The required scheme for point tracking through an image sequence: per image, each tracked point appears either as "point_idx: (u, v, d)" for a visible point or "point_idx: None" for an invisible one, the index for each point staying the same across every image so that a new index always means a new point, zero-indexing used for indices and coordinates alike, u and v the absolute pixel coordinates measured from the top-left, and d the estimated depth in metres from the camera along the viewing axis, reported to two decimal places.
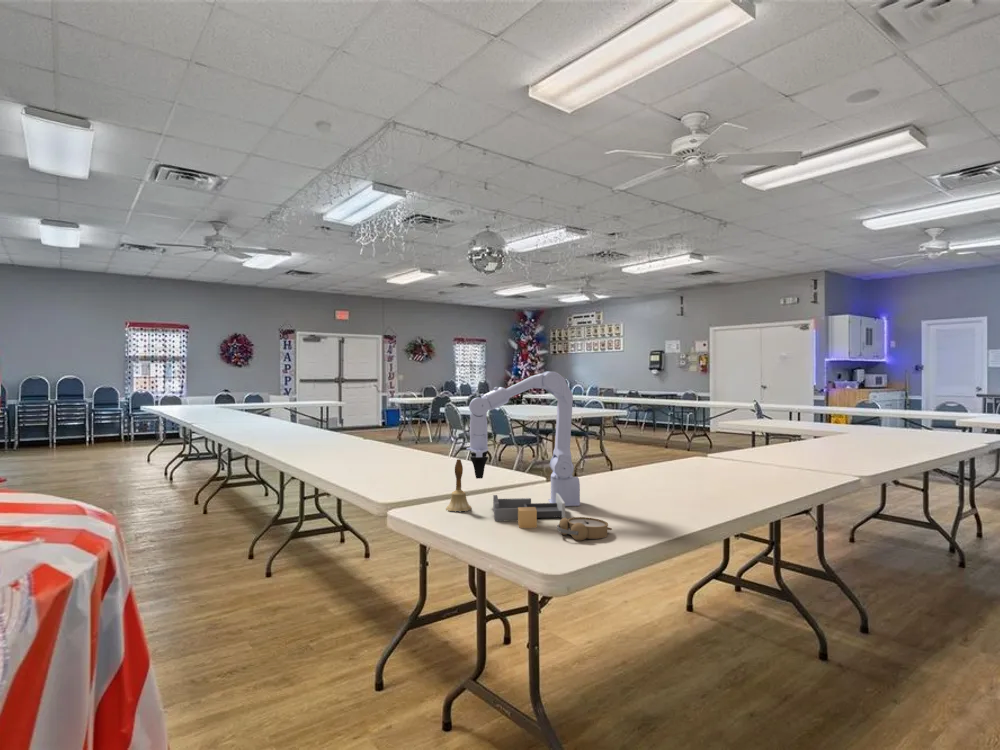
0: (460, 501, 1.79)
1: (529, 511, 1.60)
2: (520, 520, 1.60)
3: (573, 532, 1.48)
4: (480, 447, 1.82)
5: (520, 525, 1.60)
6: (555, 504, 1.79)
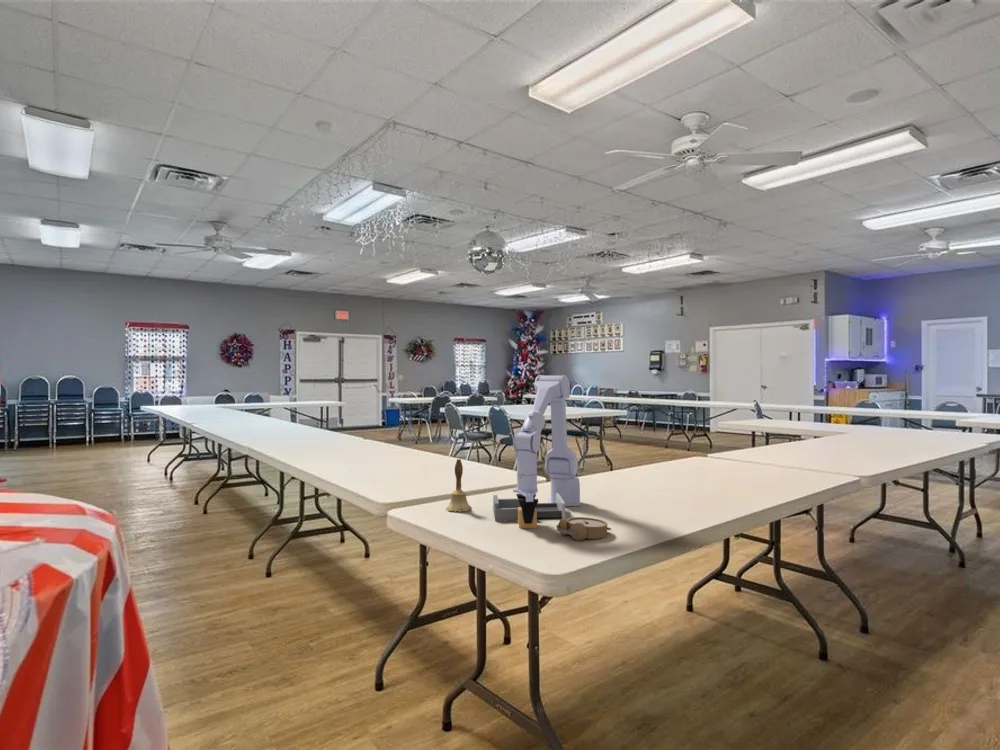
0: (460, 501, 1.79)
1: None
2: (520, 520, 1.60)
3: (572, 532, 1.48)
4: (529, 489, 1.59)
5: (520, 525, 1.60)
6: (555, 504, 1.79)
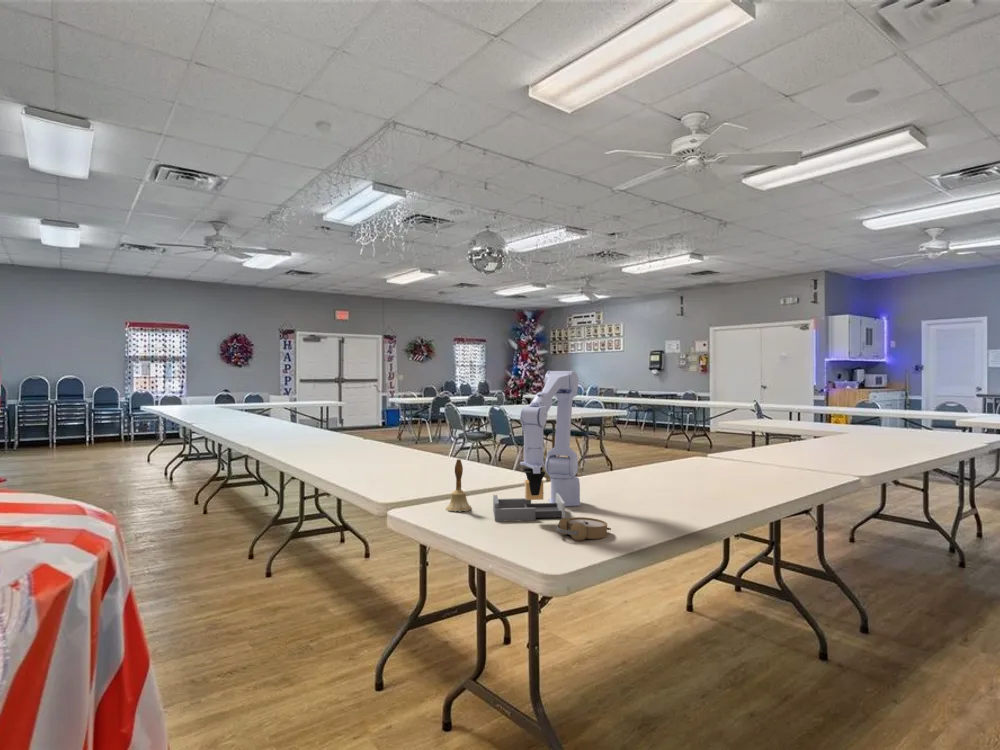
0: (460, 501, 1.79)
1: None
2: (527, 492, 1.65)
3: (572, 532, 1.48)
4: (536, 462, 1.64)
5: (527, 497, 1.65)
6: (555, 504, 1.79)
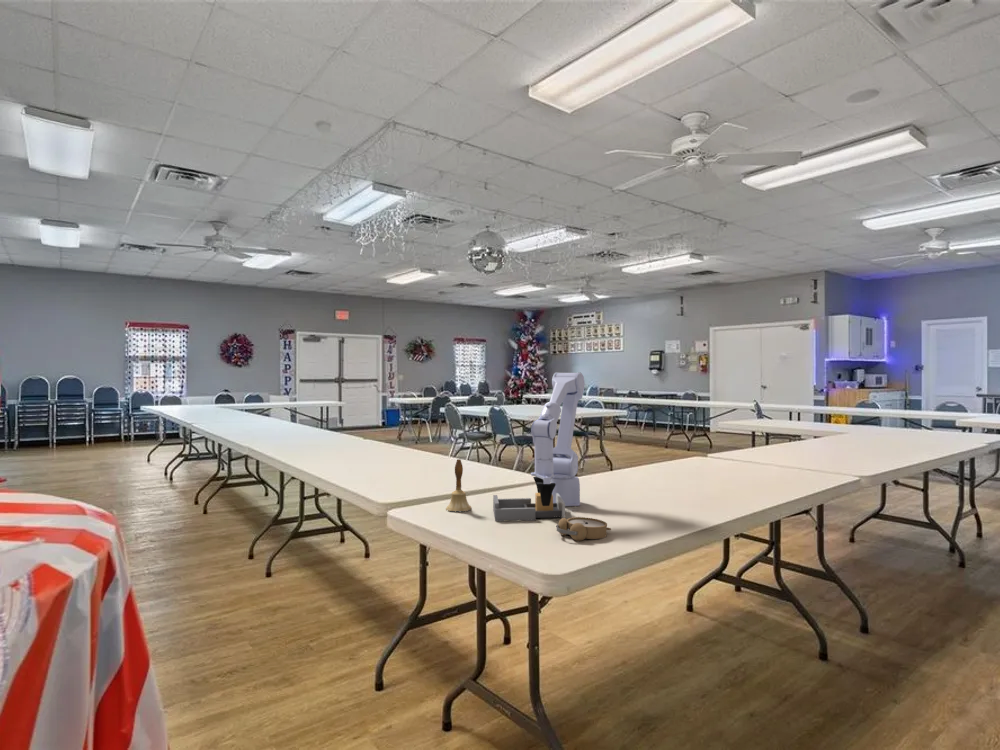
0: (460, 501, 1.79)
1: None
2: (538, 504, 1.73)
3: (572, 532, 1.48)
4: (546, 472, 1.72)
5: (537, 509, 1.73)
6: (555, 504, 1.79)
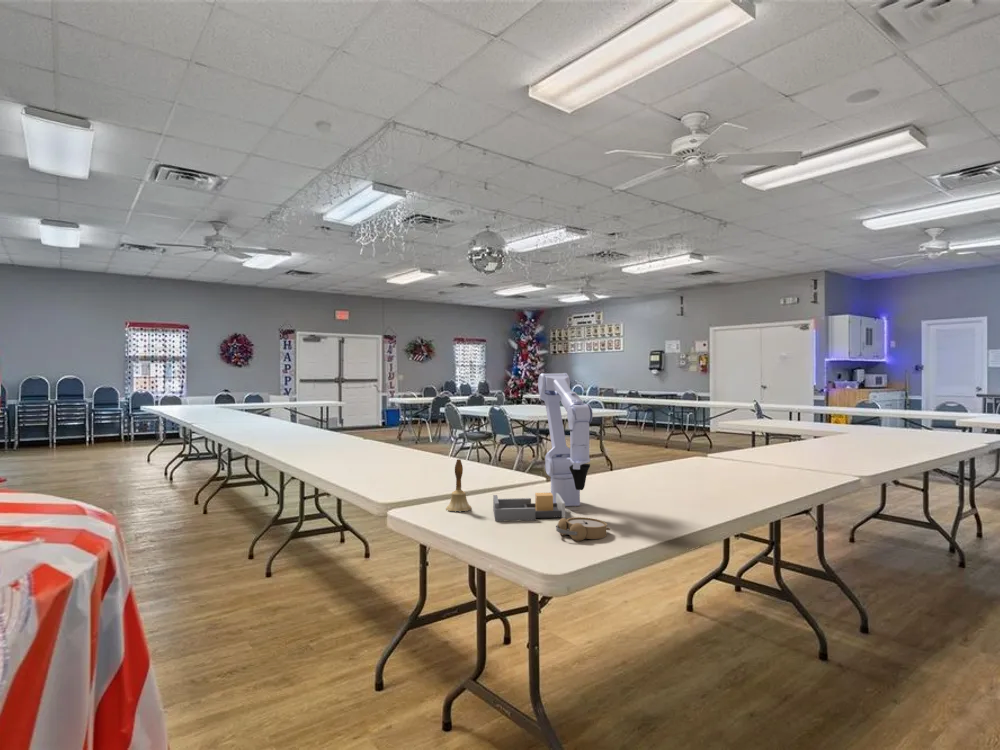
0: (460, 501, 1.79)
1: (546, 496, 1.73)
2: (538, 504, 1.73)
3: (572, 532, 1.48)
4: (580, 458, 1.69)
5: (537, 509, 1.73)
6: (555, 504, 1.79)
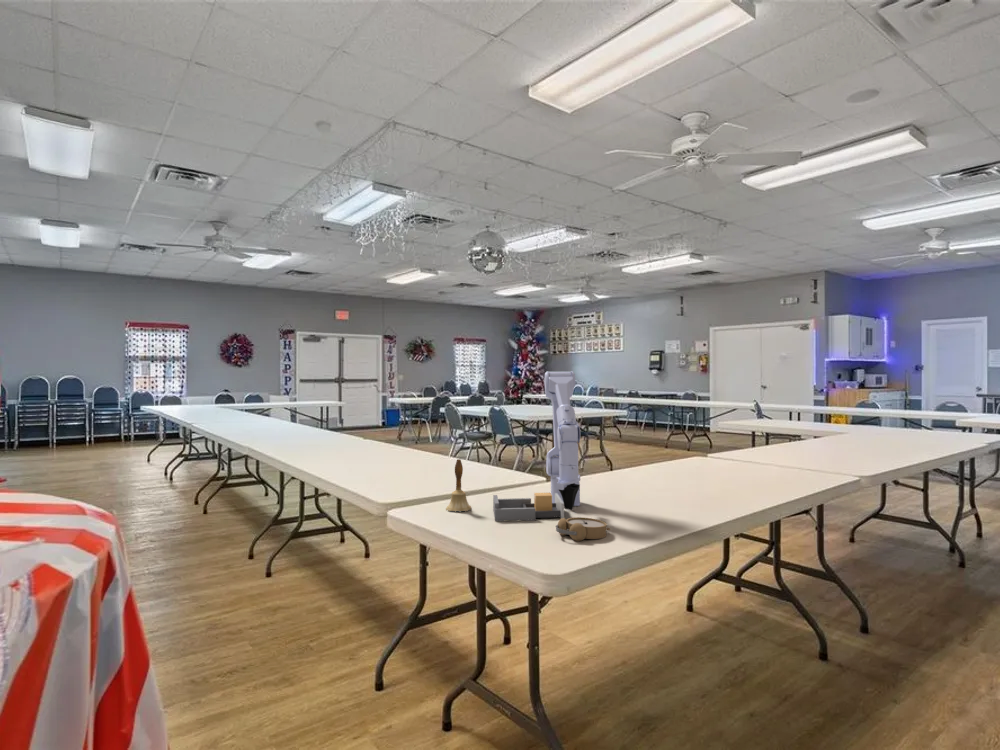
0: (460, 501, 1.79)
1: (545, 496, 1.73)
2: (537, 504, 1.73)
3: (572, 532, 1.48)
4: (566, 478, 1.69)
5: (536, 509, 1.73)
6: (554, 504, 1.79)
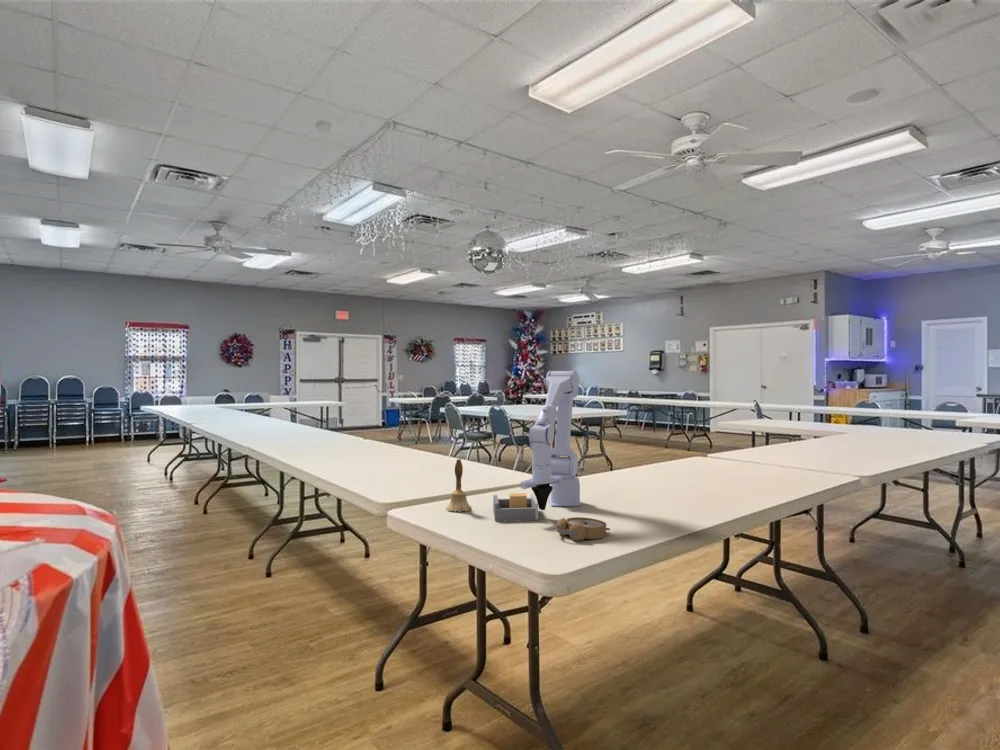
0: (460, 501, 1.79)
1: (520, 497, 1.72)
2: (511, 505, 1.72)
3: (571, 532, 1.48)
4: (535, 478, 1.69)
5: None
6: (530, 505, 1.79)
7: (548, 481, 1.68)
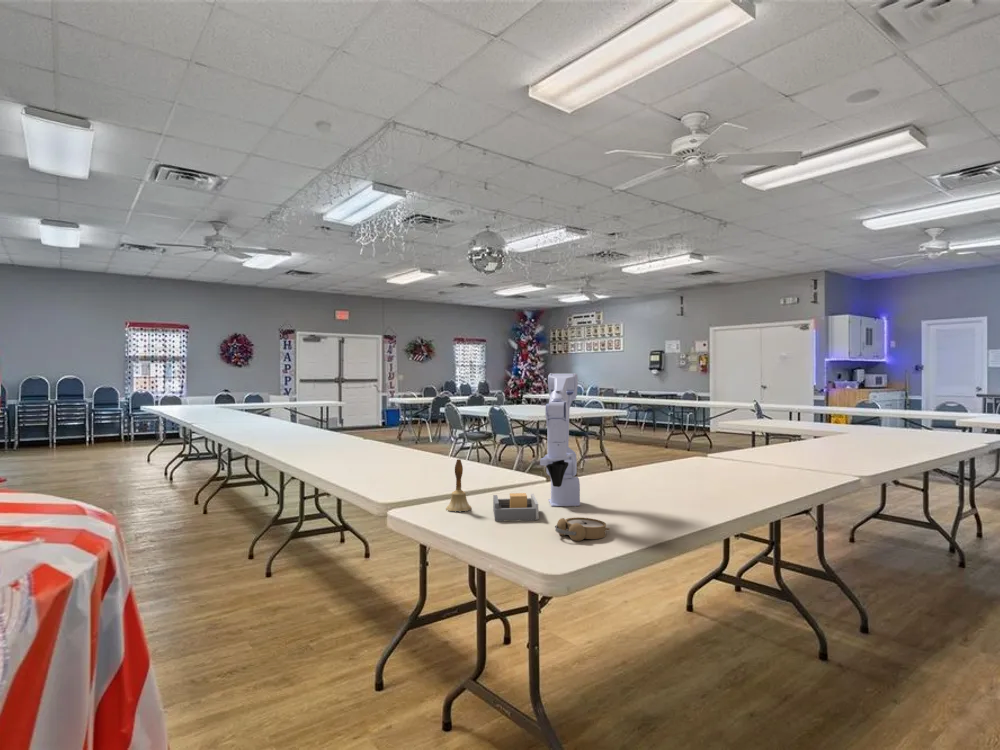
0: (460, 501, 1.79)
1: (520, 497, 1.72)
2: (511, 505, 1.72)
3: (571, 532, 1.48)
4: (552, 455, 1.69)
5: None
6: (530, 505, 1.79)
7: (565, 457, 1.69)
